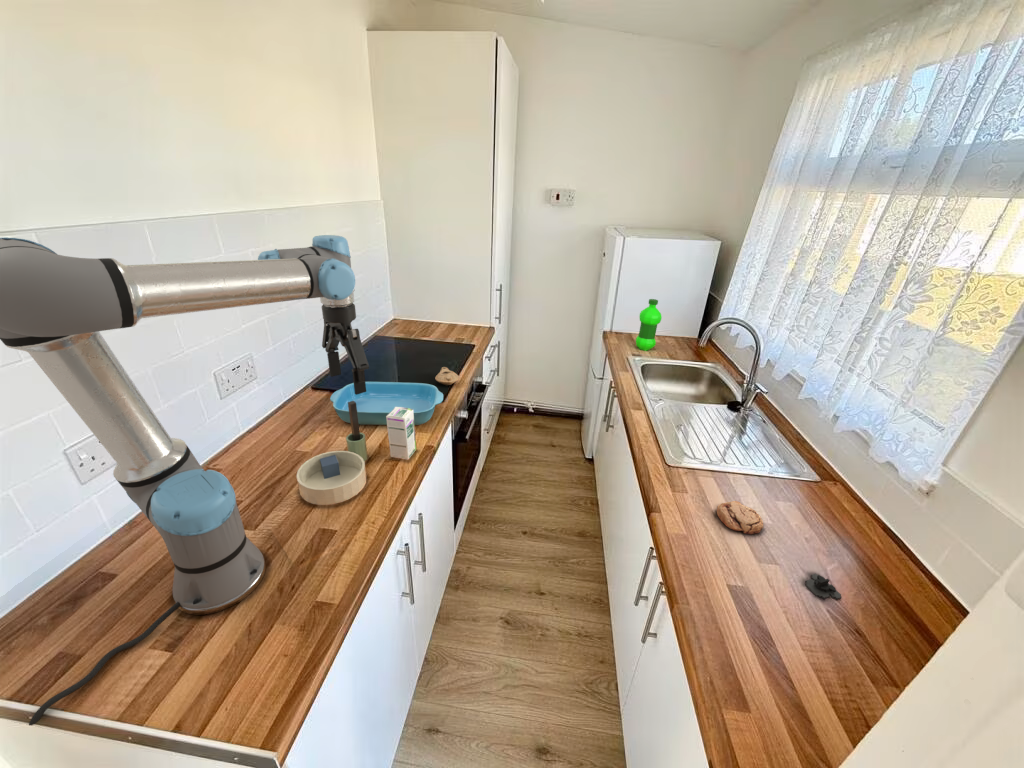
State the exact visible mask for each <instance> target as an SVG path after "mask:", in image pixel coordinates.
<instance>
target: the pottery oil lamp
mask: <svg viewBox="0 0 1024 768" xmlns="http://www.w3.org/2000/svg"><path fill="white" fill-rule="evenodd" d="M434 378H435V379H434V380H435V381H436V382H437V383H439V384H441V385H445V386H451V385H452V384H454V383H456V382H458V381H459V379H460V376H459V375H458V373H456V372H454V371H453V370H450V369H449V368H448V367H447V366H443V367H441V368H440V370H439V372H438V373H437V375H436V376H435V377H434Z"/></svg>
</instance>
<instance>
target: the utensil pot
mask: <svg viewBox="0 0 1024 768" xmlns="http://www.w3.org/2000/svg"><path fill="white" fill-rule="evenodd" d="M345 439H346V447H347V451H349V452H354V453H356V454H358V455H359V456H361V457H362V458H363V460H364V462H366V461H367V460H368V449H367V440H366V434H365V433H364V432H361V431H360V439H361V440H358V441H353V438H352V432H351V433H349V434H347V435H346V437H345Z"/></svg>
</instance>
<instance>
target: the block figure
mask: <svg viewBox="0 0 1024 768" xmlns="http://www.w3.org/2000/svg"><path fill="white" fill-rule="evenodd" d="M804 582H805V587H806V589H807V590H809V591H810V592H811V593H812V594H814V596H815V597H818V598H821V599H822V600H824V599H825V600H826V599H827V598H832V599H835V600H836V601H837V600H840V599H842V593H840V592H839V591H838V590H837V588H836V586H834V585H833V584H832V583H829V582H830V579H829V578H825V577H824V576H822V575H820V574H817V573H813V574H811V575H810V579H806V580H805V581H804Z"/></svg>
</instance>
